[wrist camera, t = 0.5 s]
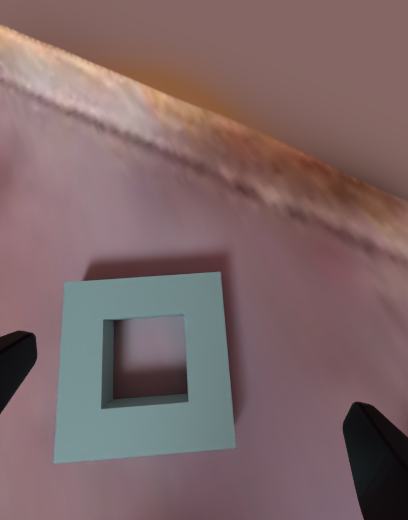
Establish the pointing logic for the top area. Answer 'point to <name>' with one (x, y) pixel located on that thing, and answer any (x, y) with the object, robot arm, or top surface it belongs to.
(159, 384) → the top surface
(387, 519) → the robot arm
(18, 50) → the top surface
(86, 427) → the collar
